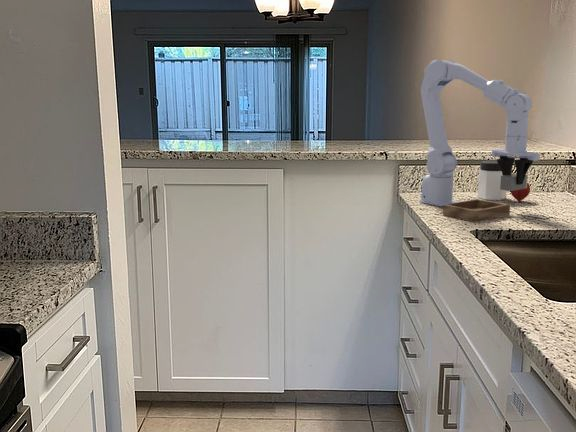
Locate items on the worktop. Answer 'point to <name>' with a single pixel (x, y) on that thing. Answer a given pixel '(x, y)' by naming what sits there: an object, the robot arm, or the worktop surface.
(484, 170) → the jar
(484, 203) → the wooden tray
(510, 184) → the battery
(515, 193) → the onion
